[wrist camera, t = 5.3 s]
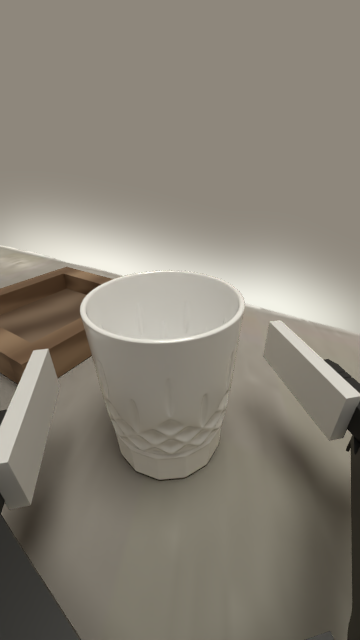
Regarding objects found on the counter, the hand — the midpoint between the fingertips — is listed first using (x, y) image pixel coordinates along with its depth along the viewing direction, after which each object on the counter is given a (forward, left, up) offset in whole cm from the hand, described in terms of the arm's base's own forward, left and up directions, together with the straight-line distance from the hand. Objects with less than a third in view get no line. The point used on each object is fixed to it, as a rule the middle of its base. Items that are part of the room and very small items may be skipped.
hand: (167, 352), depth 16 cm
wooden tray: (-18, +4, -6) cm, 20 cm away
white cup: (+1, -1, -6) cm, 6 cm away
